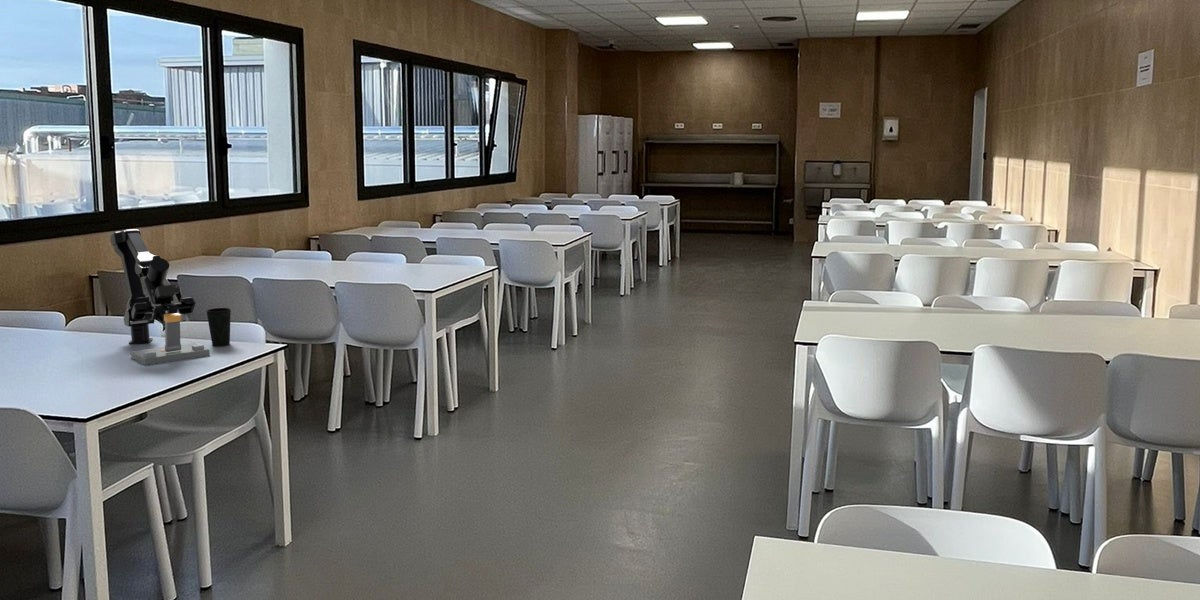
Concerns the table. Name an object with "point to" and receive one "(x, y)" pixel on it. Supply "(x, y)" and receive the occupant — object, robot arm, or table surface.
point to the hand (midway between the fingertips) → (171, 329)
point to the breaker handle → (172, 332)
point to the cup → (219, 326)
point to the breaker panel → (169, 354)
